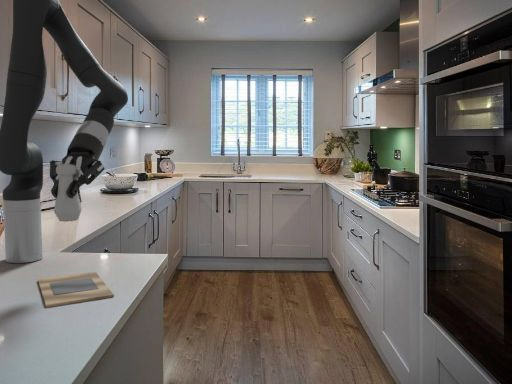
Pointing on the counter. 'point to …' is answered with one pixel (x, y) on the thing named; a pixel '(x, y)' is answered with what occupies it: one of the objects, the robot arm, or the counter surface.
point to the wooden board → (73, 289)
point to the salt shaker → (64, 205)
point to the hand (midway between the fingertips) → (62, 195)
